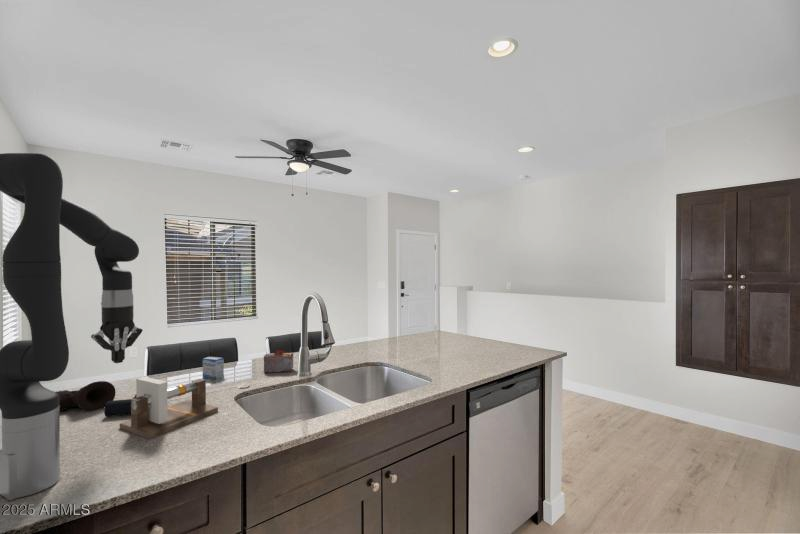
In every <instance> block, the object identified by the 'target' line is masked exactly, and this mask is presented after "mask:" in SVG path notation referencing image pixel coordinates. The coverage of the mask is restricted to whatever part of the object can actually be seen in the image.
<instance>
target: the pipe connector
mask: <svg viewBox="0 0 800 534" xmlns="http://www.w3.org/2000/svg"><path fill="white" fill-rule="evenodd" d="M133 398H136V394H135V395H134V396H133V397H132V398H128V399H127V398H126V399H118V400H115V399H114V400H113V401H108V402H107V403H106V405H105V408H103V409H104V410H103V413H104V416H105V417H106V418H107V417H117V416H118V417H119V416H131V399H133Z"/></svg>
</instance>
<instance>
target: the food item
mask: <svg viewBox="0 0 800 534" xmlns="http://www.w3.org/2000/svg"><path fill="white" fill-rule="evenodd" d="M293 368H294V353H293V352H284V350H280V349H277V350H275V352H272V353H266V354H264V356H263V373H264V372H272V373H275V372H279V373H282V372H281V371H288V372H290V371H291V370H292V369H293Z"/></svg>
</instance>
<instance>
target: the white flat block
mask: <svg viewBox="0 0 800 534" xmlns="http://www.w3.org/2000/svg"><path fill="white" fill-rule="evenodd" d="M135 380H136V382H135V384H136V387H135V388H136V392H135V395H136V398H137V397H140V396H144V397H145V396H148V395H151V405H149V406H148V421H151V422H155V423H158V424H160V423H163V422H166V421H167V407H168V399H167V390H168V381H165V380H161V379H156V378H152V377H149V376H148V377H147V376H143V377H142V376H141V377H139V378H136V379H135Z"/></svg>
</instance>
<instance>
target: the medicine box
mask: <svg viewBox="0 0 800 534" xmlns="http://www.w3.org/2000/svg"><path fill="white" fill-rule="evenodd" d="M224 359H225V358H224V357H219V356H218V357H217V356H207V357H204V358H202V378H203V379H212V378H218V379H220V378H219V377H221V376H223V377H224V375H225V374H224V373H225V372H224V371H225V370H224V369H225V368H224V366H225V365H224V364H225V362H224V361H225V360H224ZM221 378H222V377H221Z"/></svg>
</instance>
